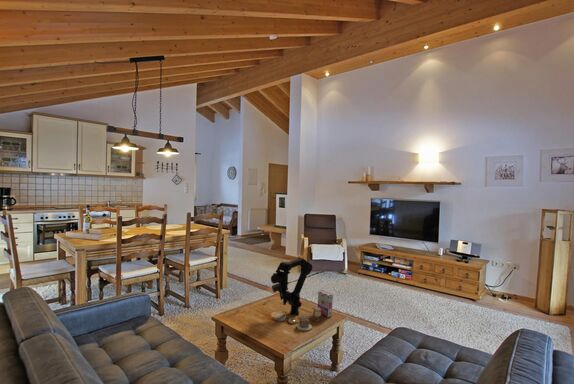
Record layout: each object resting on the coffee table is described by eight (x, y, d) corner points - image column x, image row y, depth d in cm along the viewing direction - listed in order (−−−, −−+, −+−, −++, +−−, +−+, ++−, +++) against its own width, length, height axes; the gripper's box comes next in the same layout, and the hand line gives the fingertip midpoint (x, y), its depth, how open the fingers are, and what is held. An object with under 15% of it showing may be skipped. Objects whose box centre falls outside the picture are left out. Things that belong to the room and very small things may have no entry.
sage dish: (297, 323, 208) (297, 321, 208) (311, 324, 207) (311, 323, 207) (296, 330, 198) (296, 329, 198) (311, 331, 197) (311, 330, 197)
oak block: (313, 312, 215) (313, 307, 215) (318, 312, 216) (318, 306, 216) (315, 315, 211) (315, 309, 211) (320, 314, 212) (320, 309, 212)
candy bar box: (332, 316, 221) (333, 294, 220) (327, 318, 218) (328, 295, 217) (321, 310, 230) (322, 289, 229) (316, 312, 227) (317, 290, 226)
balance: (289, 324, 206) (289, 317, 205) (287, 320, 211) (287, 314, 211) (321, 321, 212) (322, 315, 211) (319, 318, 217) (319, 311, 217)
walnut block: (299, 324, 204) (299, 317, 204) (306, 323, 205) (306, 316, 205) (301, 328, 199) (301, 320, 199) (308, 327, 201) (309, 320, 200)
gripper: (270, 276, 220) (269, 297, 220) (275, 285, 202) (274, 308, 202) (284, 276, 223) (284, 296, 223) (291, 284, 204) (290, 307, 205)
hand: (282, 302), depth 213 cm, fingers open, 9 cm apart
